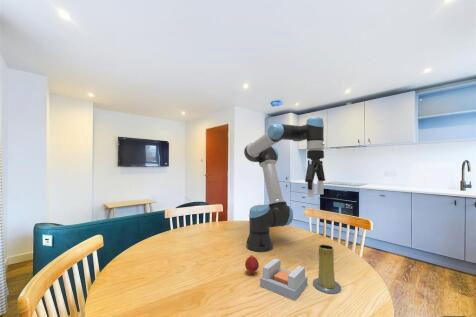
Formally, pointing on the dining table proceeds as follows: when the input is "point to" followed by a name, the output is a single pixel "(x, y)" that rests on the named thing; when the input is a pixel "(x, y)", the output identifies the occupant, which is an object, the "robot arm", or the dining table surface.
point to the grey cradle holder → (292, 290)
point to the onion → (251, 264)
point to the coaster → (325, 290)
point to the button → (282, 277)
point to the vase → (326, 267)
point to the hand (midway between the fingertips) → (315, 195)
